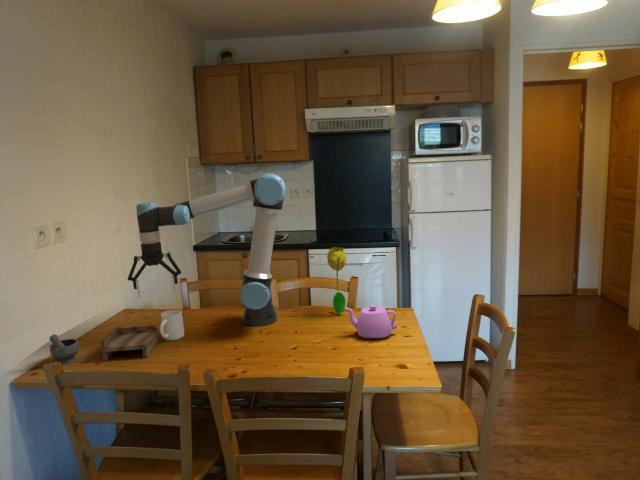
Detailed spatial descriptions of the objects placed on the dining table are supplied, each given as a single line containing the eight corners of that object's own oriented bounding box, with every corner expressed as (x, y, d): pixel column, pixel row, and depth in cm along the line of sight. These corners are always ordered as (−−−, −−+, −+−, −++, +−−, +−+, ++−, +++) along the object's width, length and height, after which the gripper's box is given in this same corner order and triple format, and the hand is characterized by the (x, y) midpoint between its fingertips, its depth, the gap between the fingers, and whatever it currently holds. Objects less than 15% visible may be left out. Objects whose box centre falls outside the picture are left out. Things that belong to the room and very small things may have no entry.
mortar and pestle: (62, 356, 184) (58, 326, 182) (86, 355, 183) (81, 325, 181) (43, 368, 173) (38, 336, 171) (68, 368, 172) (63, 336, 170)
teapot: (396, 328, 192) (395, 299, 190) (398, 340, 179) (397, 310, 177) (346, 329, 194) (344, 301, 193) (344, 341, 181) (343, 311, 179)
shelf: (158, 342, 192) (156, 324, 191) (147, 357, 177) (144, 338, 176) (118, 345, 191) (115, 327, 190) (103, 361, 177) (100, 341, 175)
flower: (329, 312, 217) (325, 247, 212) (347, 311, 218) (343, 245, 213) (331, 318, 208) (327, 250, 204) (350, 317, 209) (346, 249, 204)
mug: (170, 345, 189) (167, 319, 187) (153, 343, 192) (150, 318, 190) (188, 334, 200) (186, 310, 198) (171, 333, 203) (169, 309, 201)
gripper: (183, 237, 196) (189, 287, 200) (117, 244, 190) (125, 296, 193) (183, 239, 189) (189, 292, 193) (115, 247, 183) (123, 301, 186)
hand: (157, 294), depth 193 cm, fingers open, 13 cm apart
